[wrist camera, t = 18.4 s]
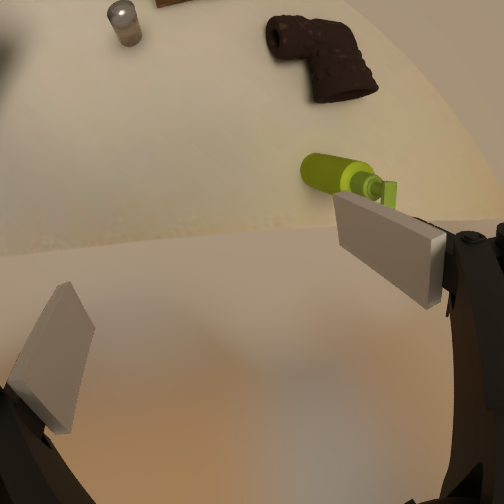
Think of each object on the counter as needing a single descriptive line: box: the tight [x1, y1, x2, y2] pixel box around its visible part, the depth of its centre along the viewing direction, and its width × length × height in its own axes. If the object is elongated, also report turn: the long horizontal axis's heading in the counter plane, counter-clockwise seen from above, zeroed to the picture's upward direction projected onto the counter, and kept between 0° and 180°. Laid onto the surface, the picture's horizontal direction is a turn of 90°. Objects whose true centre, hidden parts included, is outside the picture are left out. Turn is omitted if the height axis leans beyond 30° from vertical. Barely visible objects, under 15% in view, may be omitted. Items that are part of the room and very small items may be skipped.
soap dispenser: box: [301, 153, 397, 210], centre depth 41 cm, size 6×7×20 cm
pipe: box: [266, 15, 379, 103], centre depth 40 cm, size 10×15×15 cm
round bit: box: [107, 0, 142, 47], centre depth 30 cm, size 3×3×11 cm
